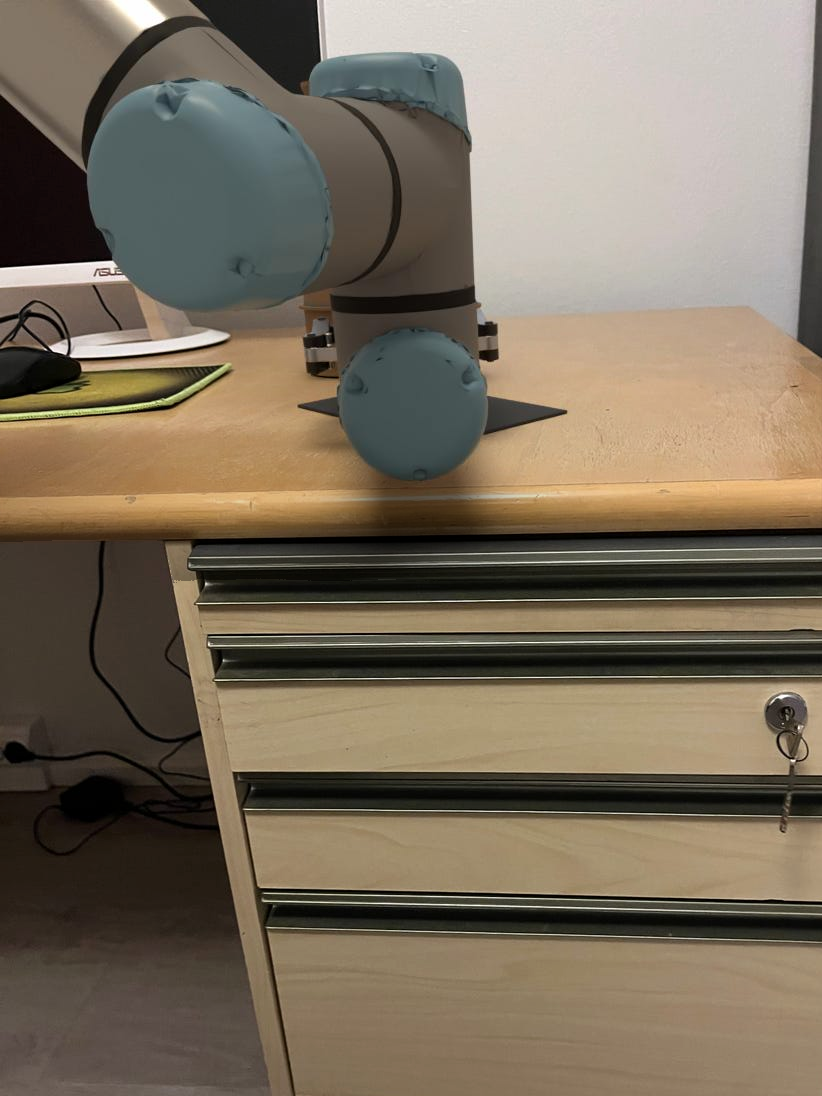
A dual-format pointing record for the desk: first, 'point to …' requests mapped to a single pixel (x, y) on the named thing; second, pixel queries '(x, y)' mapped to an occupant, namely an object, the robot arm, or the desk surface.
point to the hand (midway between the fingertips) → (396, 318)
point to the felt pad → (499, 417)
